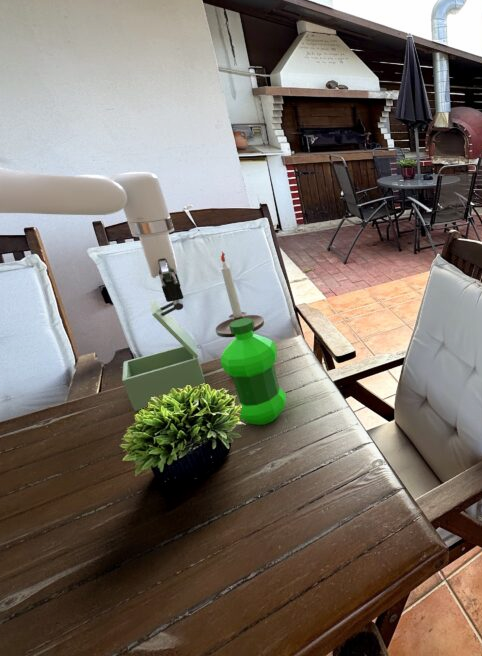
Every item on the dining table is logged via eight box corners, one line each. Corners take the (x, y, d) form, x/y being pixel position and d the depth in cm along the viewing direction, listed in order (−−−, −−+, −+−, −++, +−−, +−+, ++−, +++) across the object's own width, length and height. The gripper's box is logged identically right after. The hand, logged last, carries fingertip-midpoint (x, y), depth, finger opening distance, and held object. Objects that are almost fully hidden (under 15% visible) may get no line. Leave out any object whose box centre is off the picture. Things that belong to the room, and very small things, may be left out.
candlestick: (280, 367, 113) (253, 249, 101) (237, 386, 105) (202, 260, 93) (264, 355, 119) (237, 242, 107) (222, 371, 111) (187, 251, 99)
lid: (151, 314, 93) (177, 301, 95) (150, 300, 100) (174, 288, 103) (195, 358, 101) (217, 345, 103) (191, 342, 108) (212, 330, 111)
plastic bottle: (228, 428, 90) (199, 331, 81) (265, 399, 100) (242, 309, 91) (265, 436, 88) (239, 337, 79) (300, 406, 98) (279, 314, 89)
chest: (134, 411, 95) (122, 380, 92) (134, 390, 103) (123, 361, 100) (206, 387, 104) (197, 358, 101) (202, 370, 112) (193, 342, 109)
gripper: (130, 222, 97) (153, 287, 103) (129, 237, 84) (155, 309, 90) (170, 218, 101) (189, 280, 107) (174, 231, 89) (196, 300, 95)
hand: (174, 293), depth 99 cm, fingers open, 9 cm apart
